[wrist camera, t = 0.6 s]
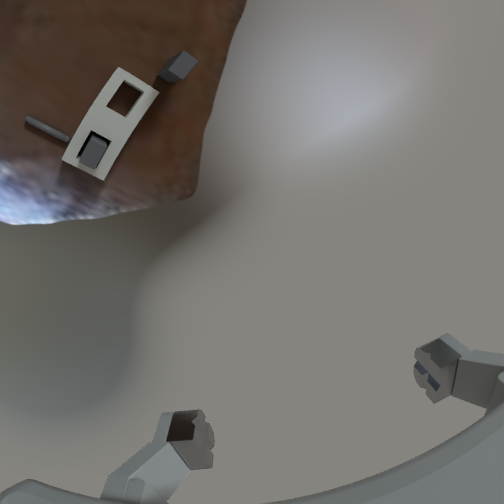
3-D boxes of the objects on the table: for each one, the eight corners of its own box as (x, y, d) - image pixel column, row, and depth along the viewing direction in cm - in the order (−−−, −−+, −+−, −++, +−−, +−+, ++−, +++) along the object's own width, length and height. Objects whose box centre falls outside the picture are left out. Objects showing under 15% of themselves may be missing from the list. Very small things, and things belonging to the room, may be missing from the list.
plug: (157, 74, 42) (168, 69, 35) (170, 58, 41) (183, 50, 34) (170, 83, 44) (183, 80, 37) (183, 67, 43) (198, 61, 36)
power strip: (19, 133, 33) (5, 139, 27) (72, 44, 30) (67, 33, 24) (103, 176, 46) (103, 188, 40) (155, 93, 43) (165, 91, 37)
